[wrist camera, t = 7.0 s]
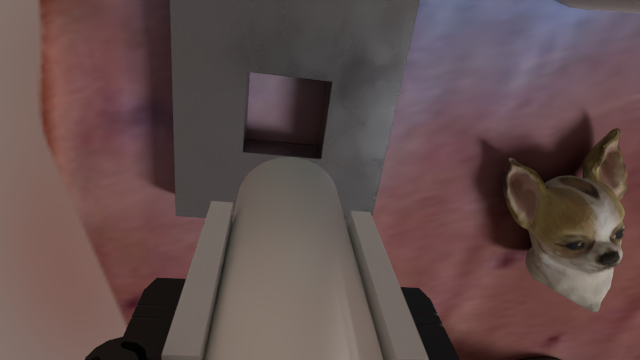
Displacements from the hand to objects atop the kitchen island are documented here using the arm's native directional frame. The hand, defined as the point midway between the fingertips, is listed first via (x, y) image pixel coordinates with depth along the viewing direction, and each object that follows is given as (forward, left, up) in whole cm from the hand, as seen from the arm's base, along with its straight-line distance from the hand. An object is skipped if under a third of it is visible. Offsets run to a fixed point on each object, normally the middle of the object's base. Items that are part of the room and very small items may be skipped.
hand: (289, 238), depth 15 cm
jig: (0, 0, -18) cm, 18 cm away
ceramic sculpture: (-7, -26, -19) cm, 33 cm away
